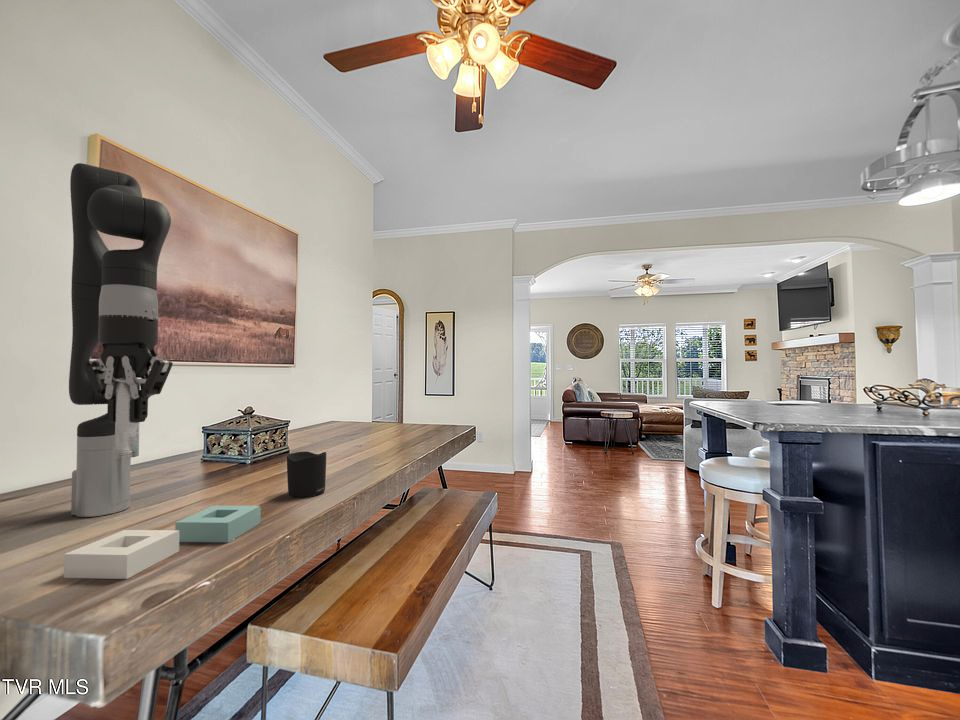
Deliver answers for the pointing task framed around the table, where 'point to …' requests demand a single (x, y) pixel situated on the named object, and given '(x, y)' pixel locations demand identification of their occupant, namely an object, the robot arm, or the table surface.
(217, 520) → the block
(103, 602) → the table surface
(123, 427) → the gray rectangular bar
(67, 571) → the socket block
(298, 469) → the pen holder
